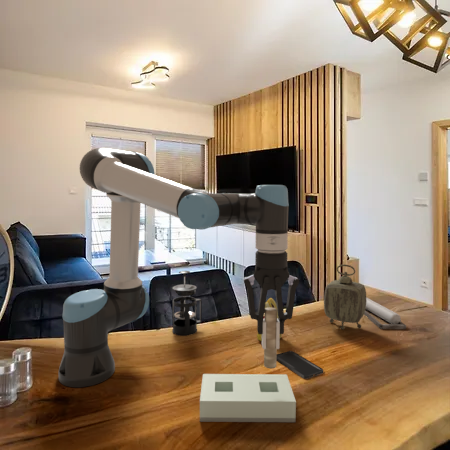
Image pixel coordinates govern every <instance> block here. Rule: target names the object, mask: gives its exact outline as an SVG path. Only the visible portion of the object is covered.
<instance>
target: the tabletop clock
mask: <svg viewBox="0 0 450 450" xmlns="http://www.w3.org/2000/svg"><path fill="white" fill-rule="evenodd" d="M341 267H347V268H350V269H352V270H353V272H352V273H348V272H347V271H344V272H341V271H339V268H341ZM336 272H337V273H338V274H339V275H342V276H341V277H339V279H335V280H332V281H330V282H329V283H328V284H327V285H326V286H325V288H324V289H325V290H324V294H323V295H324V296H323V310H324V313H325V316H326V317H327V318H329V322H330V323H334V322H335V321H338V322H341V325H340V326H339V328H340V330H342V331H343V330H345V326H344V324H345V323H350V324H351V323H352V324H353V323H354V324H355V323H356V327H357V329H361V328H362V325H361V324H360V323H359V322H360V321H361V319H362V318H363V316H365V315H364V313H365V310H367V309H366V297H367V291H366V287H365V285H364V284H362V283H360V282H355V281H353V279H352V278H351V276H353V275H355V273H356V270H355V267H354V266H352V265H350V264H339V265H338V266H337V267H336ZM334 320H335V321H334Z"/></svg>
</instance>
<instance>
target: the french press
mask: <svg viewBox="0 0 450 450" xmlns="http://www.w3.org/2000/svg"><path fill="white" fill-rule="evenodd" d="M178 273H179V274H181V275H182V274H183V276H182V277H183V284H177V285H174V286H172V290H173V291H174V292H175V294H176V295H178V296H177V297H175V298H173V299H172V330H171V332H172V333H173V334H174V335H176V336H180V337H181V336H182V337H184V336H185V337H187V336H192V335H195V334H196V333H197V332H198V327H197V326H198V324H199V323H202V320H203V318H202V317H203V316H202V313H203V312H202V309H203V307H202V303H203V301H202V299H201V298H195V297H193V295H195V294H196V290H197V286H196V285H193V284H187V283H186V277H187V274H191V272H190V270H181V271H179V272H178ZM186 301H192V302H189V303H188V302H187V303H186ZM177 302H179V303H177ZM198 302H199V320H198V319H197V318H198V317H197V316H198V314H197V308H198V307H197V305H198V304H197V303H198ZM175 307H177V308H179V311H176V312H175ZM191 307H194V311H192V310H191V311H190V308H191Z"/></svg>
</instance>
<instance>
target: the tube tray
mask: <svg viewBox="0 0 450 450" xmlns="http://www.w3.org/2000/svg"><path fill="white" fill-rule="evenodd" d="M363 316H365V317H366V316H367V317H368V318H367V317H366V318H367V319H369V321H370V322H372V323H373V324H374V325H375V326H376V327H377V328H378V329H380V330H407V324H405V323H403V322H402V321H401V322H399V324H391V323H389V324H388V323H384V324H383V323H381V322H380V321H378V319H377V318H375V317H374V316H373V315H372V314H371V313H369V312H368V310H367V309H365V313H364V315H363Z"/></svg>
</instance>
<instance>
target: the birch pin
mask: <svg viewBox="0 0 450 450" xmlns="http://www.w3.org/2000/svg"><path fill="white" fill-rule="evenodd" d="M264 321H265V322H266V349H263V366H264V367H265V369H271V370H273V369H276V367H277V354H278V353H277V350H278V349H276V322H277V309H276V308H271V307H269V308H265V310H264Z"/></svg>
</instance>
